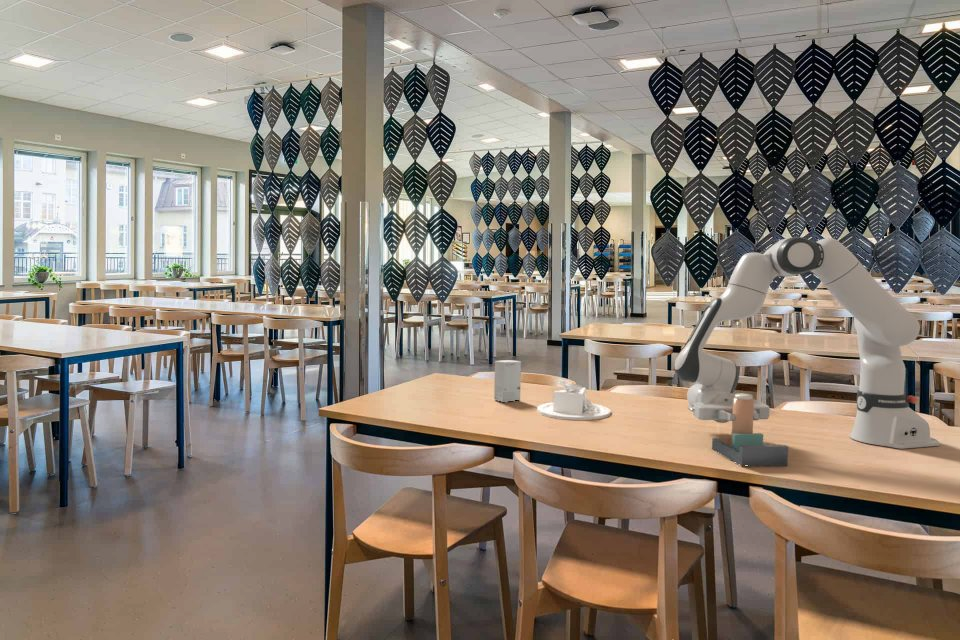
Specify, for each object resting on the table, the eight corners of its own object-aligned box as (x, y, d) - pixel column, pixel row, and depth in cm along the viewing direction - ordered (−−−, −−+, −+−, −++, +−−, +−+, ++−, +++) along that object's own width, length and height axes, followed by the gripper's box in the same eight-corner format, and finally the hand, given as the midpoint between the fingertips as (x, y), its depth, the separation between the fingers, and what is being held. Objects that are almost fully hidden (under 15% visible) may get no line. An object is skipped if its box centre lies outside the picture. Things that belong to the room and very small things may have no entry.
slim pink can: (746, 443, 179) (748, 393, 177) (755, 449, 174) (758, 396, 172) (727, 444, 178) (729, 393, 177) (737, 449, 173) (739, 397, 172)
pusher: (760, 454, 174) (760, 433, 173) (767, 458, 170) (768, 436, 170) (731, 455, 173) (732, 433, 173) (738, 459, 169) (739, 437, 169)
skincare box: (503, 403, 238) (503, 362, 237) (493, 400, 243) (493, 360, 242) (521, 400, 243) (521, 360, 242) (511, 398, 248) (511, 358, 246)
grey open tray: (753, 448, 181) (754, 430, 181) (787, 466, 165) (788, 446, 164) (712, 448, 180) (712, 430, 179) (741, 466, 163) (742, 447, 163)
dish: (591, 424, 208) (591, 389, 207) (523, 414, 222) (523, 381, 221) (622, 411, 228) (623, 379, 227) (558, 402, 242) (558, 372, 241)
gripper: (685, 396, 187) (707, 406, 173) (754, 395, 189) (781, 405, 175) (685, 417, 187) (706, 429, 174) (753, 416, 189) (780, 428, 175)
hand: (744, 417), depth 174 cm, fingers closed on slim pink can, 5 cm apart
